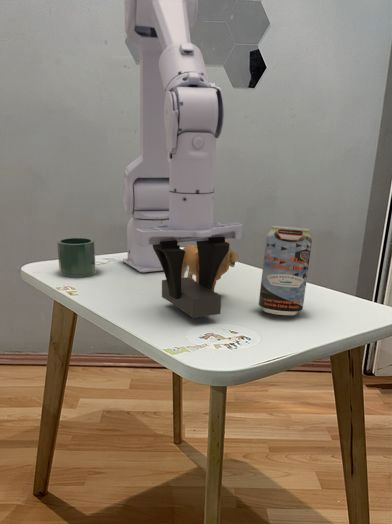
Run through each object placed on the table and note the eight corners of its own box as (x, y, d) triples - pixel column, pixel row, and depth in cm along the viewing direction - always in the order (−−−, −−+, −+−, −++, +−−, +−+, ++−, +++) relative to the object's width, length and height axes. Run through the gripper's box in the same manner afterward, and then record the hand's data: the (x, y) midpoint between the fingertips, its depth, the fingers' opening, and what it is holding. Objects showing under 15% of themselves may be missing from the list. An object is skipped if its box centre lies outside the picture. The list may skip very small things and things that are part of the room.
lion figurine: (241, 301, 83) (244, 240, 80) (211, 307, 80) (214, 244, 77) (186, 279, 94) (186, 224, 91) (158, 283, 91) (158, 227, 88)
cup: (56, 270, 98) (53, 238, 96) (89, 267, 100) (88, 236, 98) (65, 278, 93) (62, 245, 91) (100, 275, 95) (98, 243, 93)
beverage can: (254, 318, 76) (260, 228, 72) (263, 303, 83) (269, 220, 78) (301, 323, 74) (310, 232, 70) (306, 307, 81) (315, 223, 77)
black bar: (161, 296, 80) (161, 279, 79) (187, 293, 82) (187, 277, 81) (193, 317, 72) (193, 299, 71) (220, 314, 74) (221, 295, 73)
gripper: (150, 197, 65) (151, 309, 70) (257, 193, 71) (251, 296, 76) (129, 190, 71) (131, 294, 76) (229, 187, 77) (225, 283, 82)
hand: (189, 295), depth 76 cm, fingers closed on black bar, 4 cm apart
